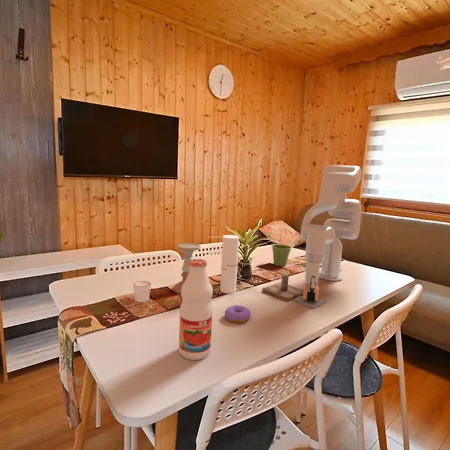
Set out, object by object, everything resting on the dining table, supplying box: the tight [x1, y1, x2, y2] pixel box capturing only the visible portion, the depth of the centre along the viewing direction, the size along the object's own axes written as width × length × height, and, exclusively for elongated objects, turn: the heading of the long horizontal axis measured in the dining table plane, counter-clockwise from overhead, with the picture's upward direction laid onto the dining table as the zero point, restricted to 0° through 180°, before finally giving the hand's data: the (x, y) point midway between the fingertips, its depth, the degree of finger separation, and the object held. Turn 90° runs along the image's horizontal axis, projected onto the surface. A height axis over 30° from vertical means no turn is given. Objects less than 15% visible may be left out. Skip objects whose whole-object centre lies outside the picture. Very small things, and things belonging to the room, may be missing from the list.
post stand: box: [261, 273, 303, 302], centre depth 145 cm, size 14×14×8 cm
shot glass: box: [132, 280, 152, 303], centre depth 129 cm, size 7×7×7 cm
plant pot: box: [271, 243, 293, 267], centre depth 189 cm, size 12×12×11 cm
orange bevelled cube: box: [302, 282, 320, 301], centre depth 136 cm, size 6×6×5 cm
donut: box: [224, 304, 252, 324], centre depth 118 cm, size 10×9×5 cm
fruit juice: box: [178, 258, 214, 361], centre depth 93 cm, size 9×9×28 cm
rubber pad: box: [292, 295, 327, 309], centre depth 137 cm, size 10×10×1 cm
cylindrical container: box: [219, 234, 240, 294], centre depth 143 cm, size 7×7×25 cm
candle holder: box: [173, 242, 201, 294], centre depth 142 cm, size 12×12×20 cm
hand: (310, 297), depth 137 cm, fingers closed on orange bevelled cube, 5 cm apart
